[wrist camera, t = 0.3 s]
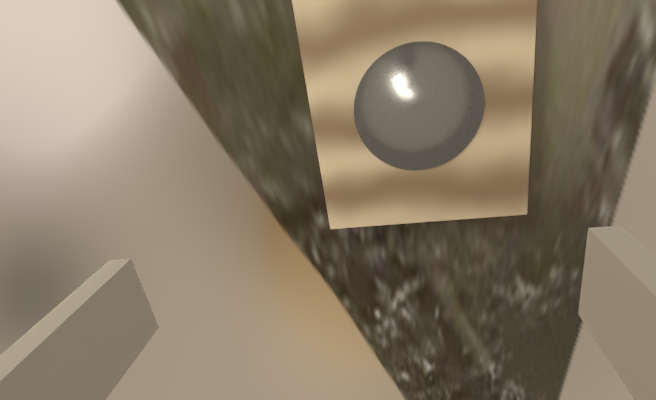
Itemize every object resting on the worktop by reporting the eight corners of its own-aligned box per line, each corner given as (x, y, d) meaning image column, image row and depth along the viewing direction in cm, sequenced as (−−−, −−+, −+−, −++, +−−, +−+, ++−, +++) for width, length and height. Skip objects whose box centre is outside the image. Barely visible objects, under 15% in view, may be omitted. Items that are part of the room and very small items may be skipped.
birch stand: (300, -9, 33) (289, -13, 29) (521, -50, 29) (541, -61, 26) (335, 210, 40) (330, 230, 36) (513, 195, 37) (527, 215, 33)
